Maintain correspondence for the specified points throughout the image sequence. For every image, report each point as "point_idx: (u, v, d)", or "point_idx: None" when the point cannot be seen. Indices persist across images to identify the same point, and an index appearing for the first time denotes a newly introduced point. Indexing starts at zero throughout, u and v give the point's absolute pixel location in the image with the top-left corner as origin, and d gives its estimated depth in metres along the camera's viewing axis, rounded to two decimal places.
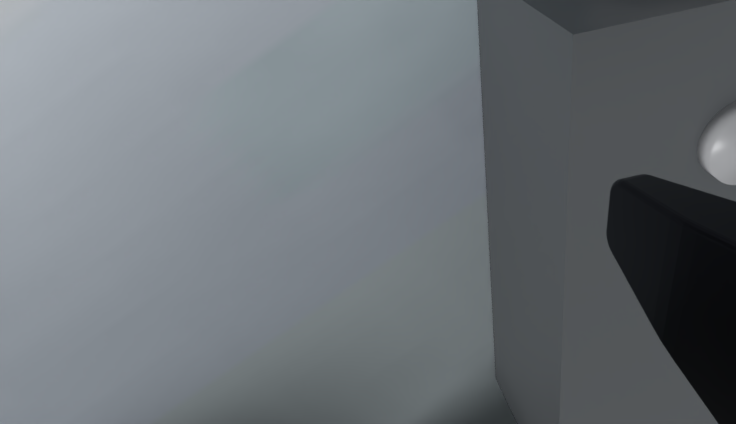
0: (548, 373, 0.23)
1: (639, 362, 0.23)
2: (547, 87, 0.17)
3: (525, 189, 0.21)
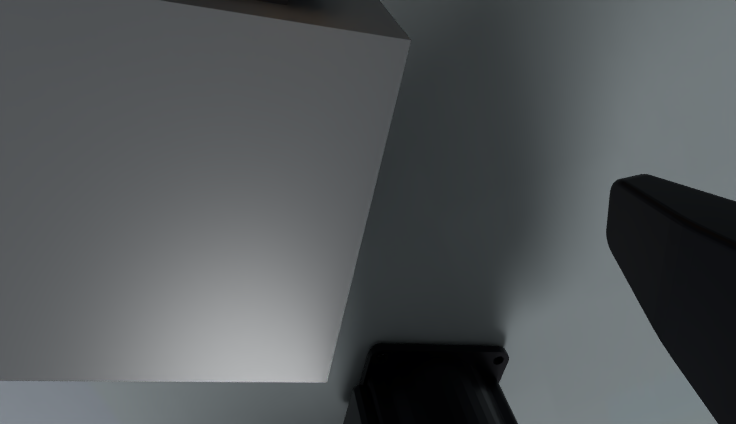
0: None
1: (30, 290, 0.15)
2: None
3: None
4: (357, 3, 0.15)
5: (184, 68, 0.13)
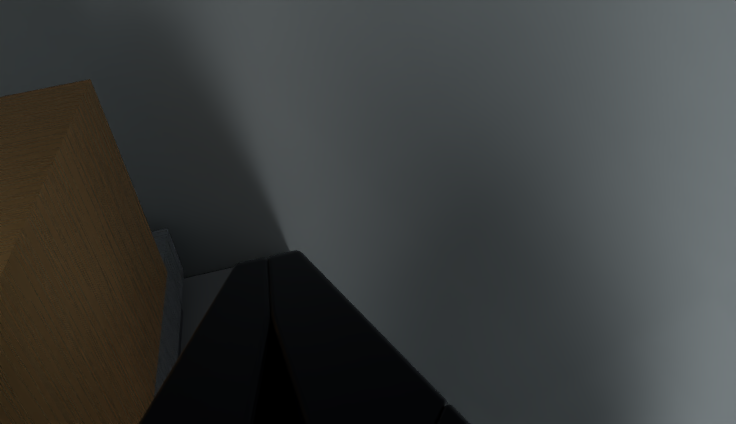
0: None
1: None
2: None
3: None
4: None
5: None
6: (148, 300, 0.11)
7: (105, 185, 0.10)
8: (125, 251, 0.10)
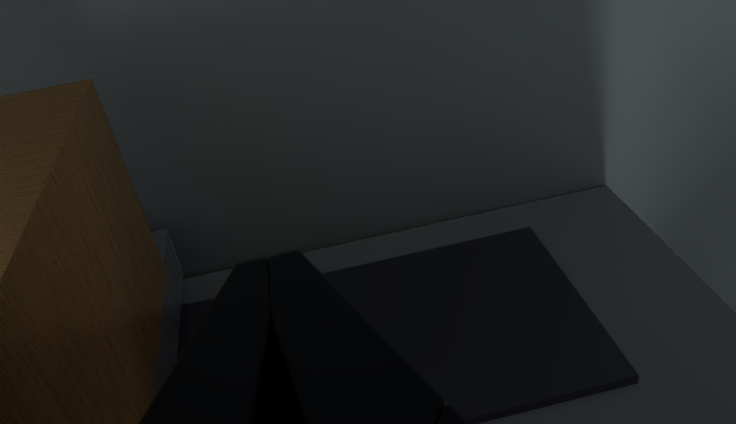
0: None
1: None
2: None
3: None
4: (689, 310, 0.12)
5: None
6: (148, 300, 0.11)
7: (106, 185, 0.10)
8: (125, 251, 0.10)
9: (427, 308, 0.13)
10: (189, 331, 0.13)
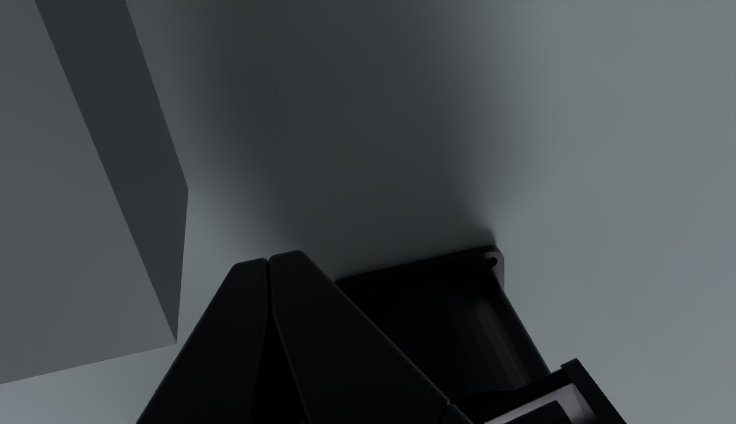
0: None
1: None
2: None
3: None
4: None
5: None
6: None
7: None
8: None
9: None
10: None
